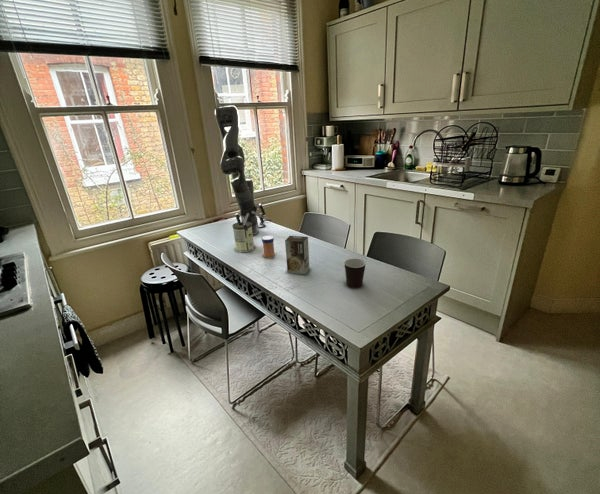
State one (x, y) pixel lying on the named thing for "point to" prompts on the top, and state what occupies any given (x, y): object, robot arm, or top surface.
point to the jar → (268, 249)
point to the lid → (267, 239)
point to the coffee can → (243, 237)
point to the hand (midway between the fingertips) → (254, 226)
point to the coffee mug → (354, 272)
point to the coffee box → (297, 254)
